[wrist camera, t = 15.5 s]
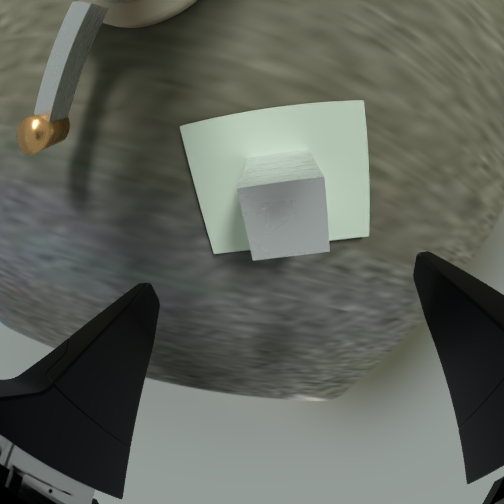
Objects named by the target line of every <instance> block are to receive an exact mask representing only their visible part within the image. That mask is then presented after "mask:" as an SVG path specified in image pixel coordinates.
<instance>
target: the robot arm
mask: <svg viewBox="0 0 504 504" xmlns="http://www.w3.org/2000/svg"><path fill="white" fill-rule="evenodd" d="M413 276H414V282H415V285H416V288H417V291H418V295H419V298H420V302H421V305H422V309H423V312H424V316H425V319H426V321H427V324H428V327H429V330H430V332H431V335H432V338H433V341H434V343H435V346H436V349H437V352H438V355H439V358H440V361H441V364H442V367H443V371H444V374H445V377H446V381H447V384H448V388H449V391H450V395H451V399H452V403H453V407H454V410H455V415H456V419H457V424H458V427H459V434H460V440H461V445H462V451H463V457H464V463H465V471H466V480H467V484H470V483H472V482H474V481H476V480H478V479H480V478H482V477H484V476H486V475H488V474H490V473H491V472H493V471H495V470H497V469H499V468H500V467H502V466H504V295H503V294H501V293H499V292H498V291H496V290H495V289H493V288H492V287H490V286H488V285H487V284H485V283H483V282H482V281H480V280H479V279H477V278H475V277H473V276H472V275H470V274H468V273H467V272H465V271H463V270H461V269H460V268H458V267H456V266H454V265H453V264H451V263H449V262H447V261H446V260H444V259H442V258H440V257H438V256H436V255H435V254H433V253H431V252H428V251H427V252H420V253H418V254H417V256H416V262H415V268H414V274H413ZM159 308H160V303H159V299H158V297H157V295H156V293H155V291H154V289H153V287H152V285H151V284H150V283H140V284H138V285H136V286H135V287H134V288H132V289H131V290H130V291H128V292H127V293H126V294H124V295H123V296H122V297H120V298H119V299H118V300H116V301H115V302H114V303H113V304H111V305H110V306H109V307H107V308H106V309H105V310H103V311H102V312H101V313H100V314H98V315H97V316H96V317H94V318H93V319H92V320H91V321H89V322H88V323H87V324H86V325H84V326H83V327H82V328H81V329H79V330H78V331H77V332H76V333H74V334H73V335H72V336H71V337H70V338H68V339H67V340H66V341H64V342H63V343H62V344H61V345H59V346H58V347H57V348H56V349H54V350H53V351H52V352H51V353H49V354H48V355H47V356H45V357H44V358H42V359H41V360H40V361H38V362H37V363H36V364H34V365H33V366H32V367H30V368H29V369H28V370H26V371H25V372H23V373H22V374H21V375H19V376H17V377H15V378H12V379H8V380H0V504H98V502H97V500H96V499H94V498H93V496H94V492H95V489H96V490H98V491H101V492H103V493H106V494H108V495H111V496H113V497H116V498H119V499H122V497H123V492H124V485H125V478H126V471H127V465H128V459H129V453H130V446H131V441H132V436H133V431H134V425H135V420H136V416H137V411H138V406H139V402H140V397H141V393H142V388H143V384H144V379H145V376H146V372H147V368H148V363H149V360H150V356H151V352H152V348H153V343H154V338H155V332H156V326H157V319H158V313H159ZM483 504H504V476H503V477H502V478H500V479H498V480H497V481H495V482H494V484H493V486H492V488H491V489H490V491H489V493H488V495H487V497H486V499H485V500H484V502H483Z"/></svg>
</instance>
